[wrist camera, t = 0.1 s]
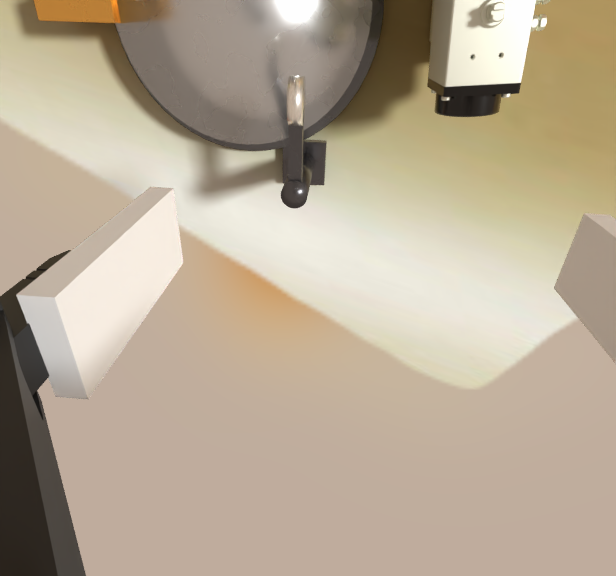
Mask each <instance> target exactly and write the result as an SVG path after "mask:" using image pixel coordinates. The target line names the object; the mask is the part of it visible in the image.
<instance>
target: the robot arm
mask: <svg viewBox="0 0 616 576" xmlns="http://www.w3.org/2000/svg"><path fill="white" fill-rule="evenodd" d="M182 264H183V257H182V249H181V241H180V234H179V226H178V219H177V211H176V204H175V197H174V189H173V188H159V187H150V188H149V189H147V190H146V191H145V192H144V193H142V194H141V195H140V196H139V197H137V198H136V199H135V200H134V201H132V202H131V203H130V204H129V205H128V206H126V207H125V208H124V209H123V210H121V211H120V212H119V213H118V214H116V215H115V216H114V217H113V218H112V219H110V220H109V221H108V222H106V223H105V224H104V225H103V226H101V227H100V228H99V229H98V230H96V231H95V232H94V233H93V234H91V235H90V236H89V237H88V238H86V239H85V240H84V241H83V242H81V243H80V244H79V245H78V246H76V247H75V248H74V249H73V250H68V251H66V252H63V253H61V254H59V255H56V256H54V257H52V258H50V259H48V260H47V261H46V262H45V263H43V264H42V265H41V266H39V267H38V268H37V270H36V271H33V272H31V273H30V274H29V275H28V276H26V279H22V280H21V281H20V282H18V283H17V284H16V285H15V286H13V287H12V288H11V289H9V290H8V291H7V292H5V293H4V294H3V295H2V296H0V576H86V575H85V571H84V566H83V563H82V558H81V555H80V551H79V547H78V543H77V539H76V535H75V531H74V527H73V523H72V519H71V515H70V511H69V507H68V503H67V500H66V496H65V492H64V488H63V484H62V480H61V476H60V472H59V468H58V464H57V460H56V456H55V452H54V448H53V445H52V440H51V437H50V433H49V429H48V425H47V421H46V417H45V413H44V409H43V405H42V401H41V399H40V396H39V394H38V392H37V390H38V389H39V387H40V386H41V385H42V384H43V383H44V381H45V380H46V379H47V378H49V381H50V383H51V386H52V388H53V391H54V394H55V396H56V397H66V398H78V399H89V398H90V396H91V395H92V393H93V392H94V390H95V389H96V387H97V386H98V385H99V383H100V382H101V380H102V379H103V377H104V376H105V375H106V373H107V372H108V370H109V369H110V367H111V366H112V365H113V363H114V362H115V360H116V359H117V357H118V356H119V354H120V353H121V352H122V350H123V349H124V347H125V346H126V344H127V343H128V341H129V340H130V339H131V337H132V336H133V334H134V333H135V331H136V330H137V329H138V327H139V326H140V324H141V323H142V321H143V320H144V319H145V317H146V316H147V314H148V313H149V311H150V310H151V308H152V307H153V306H154V304H155V303H156V301H157V300H158V298H159V297H160V295H161V294H162V293H163V291H164V290H165V288H166V287H167V285H168V284H169V283H170V281H171V280H172V278H173V277H174V275H175V274H176V273H177V271H178V269H179V268H180V267H181V265H182ZM554 289H555V290H556V291H557V292H558V294H559V295H560V296H561V297H562V299H563V300H564V301H565V302H566V303H567V305H568V306H569V307H570V308H571V310H572V311H573V312H574V313H575V314H576V316H577V317H578V318H579V319H580V321H581V322H582V323H583V324H584V325H585V327H586V328H587V329H588V330H589V332H590V333H591V334H592V335H593V336H594V338H595V339H596V340H597V341H598V343H599V344H600V345H601V346H602V348H603V349H604V350H605V351H606V352H607V354H608V355H609V356H610V357H611V358H612V360H613V361H614V362H615V363H616V219H614V218H613V217H611V216H610V215H604V214H587V213H584V215H583V217H582V220H581V222H580V224H579V227H578V229H577V232H576V234H575V237H574V239H573V242H572V244H571V247H570V249H569V252H568V254H567V257H566V259H565V262H564V264H563V267H562V269H561V272H560V274H559V277H558V279H557V282H556V284H555V286H554Z"/></svg>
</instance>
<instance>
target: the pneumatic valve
mask: <svg viewBox="0 0 616 576" xmlns="http://www.w3.org/2000/svg"><path fill="white" fill-rule="evenodd" d="M549 1H550V0H433V1H432V14H431V26H430V39H429V42H431V48H430V61H429V73H428V86H427V87H429V88H430V89H432V91H431V93H436V101H435V113H437V114H439V115H444V116H453V117H477V116H487V115H492V114H495V113H497V112H499V108H500V102H501V97H503V98H508V97H510V95H511V94H514V93H519V90H520V85H521V80H522V74H523V69H524V63H525V58H526V52H527V47H528V42H529V36H530V32H531V31H534V30H535V29H536V30H537V31H541V30H543V29H544V28H545V26H546V23H547V16H546V15H545V14H540V15H539V17H538V16H537V15H534V9H535V5H538V4H539V3H542V4H547V3H548V2H549Z"/></svg>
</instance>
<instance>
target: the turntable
mask: <svg viewBox="0 0 616 576" xmlns="http://www.w3.org/2000/svg"><path fill="white" fill-rule="evenodd" d="M34 3H35V7H36V11H37V15H38V19H39V20H40V21H68V22H98V23H116V26H117V29H118V32H119V35H120V38H121V41H122V44H123V46H124V48H125V51H126V53H127V55H128V57H129V59H130V61H131V63H132V65H133V67H134V68H135V70H136V72H137V73H138V75H139V77H140V78H141V80H142V81H143V82H144V84H145V85H146V87H147V88H148V89H149V91H150V92H151V93H152V94H153V95H154V97H155V98H156V99H157V100H158V101H159V102H160V103H161V104H162V105H163V106H164V107H165V108H166V109H167V110H168V111H169V112H171V113H172V114H173V115H174V116H175V117H176V118H178V119H179V120H181V121H182V122H184V123H185V124H186V125H188V126H189V127H191V128H193V129H195V130H197V131H199V132H200V133H202V134H205V135H207V136H210V137H213V138H215V139H218V140H222V141H226V142H230V143H237V144H246V145H248V144H265V143H271V142H276V141H280V140H283V139H286V138H288V134H289V125H288V121H287V87H288V79H289V76H290V75H291V76H305V86H306V96H305V117H304V130H305V129H307V128H308V127H310V126H312V125H313V124H315V123H316V122H317V121H318V120H320V119H321V118H322V117H323V116H324V115H325V114H327V113H328V112H329V111H330V109H331V108H332V107H333V106H334V105H335V104H336V103H337V102H338V101H339V99H340V98H341V96H342V95H343V93H344V92H345V91H346V89H347V88H348V86H349V85H350V83H351V81H352V79H353V77H354V75H355V73H356V71H357V69H358V67H359V64H360V61H361V59H362V56H363V54H364V50H365V47H366V43H367V39H368V35H369V30H370V23H371V16H372V0H34Z"/></svg>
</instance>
